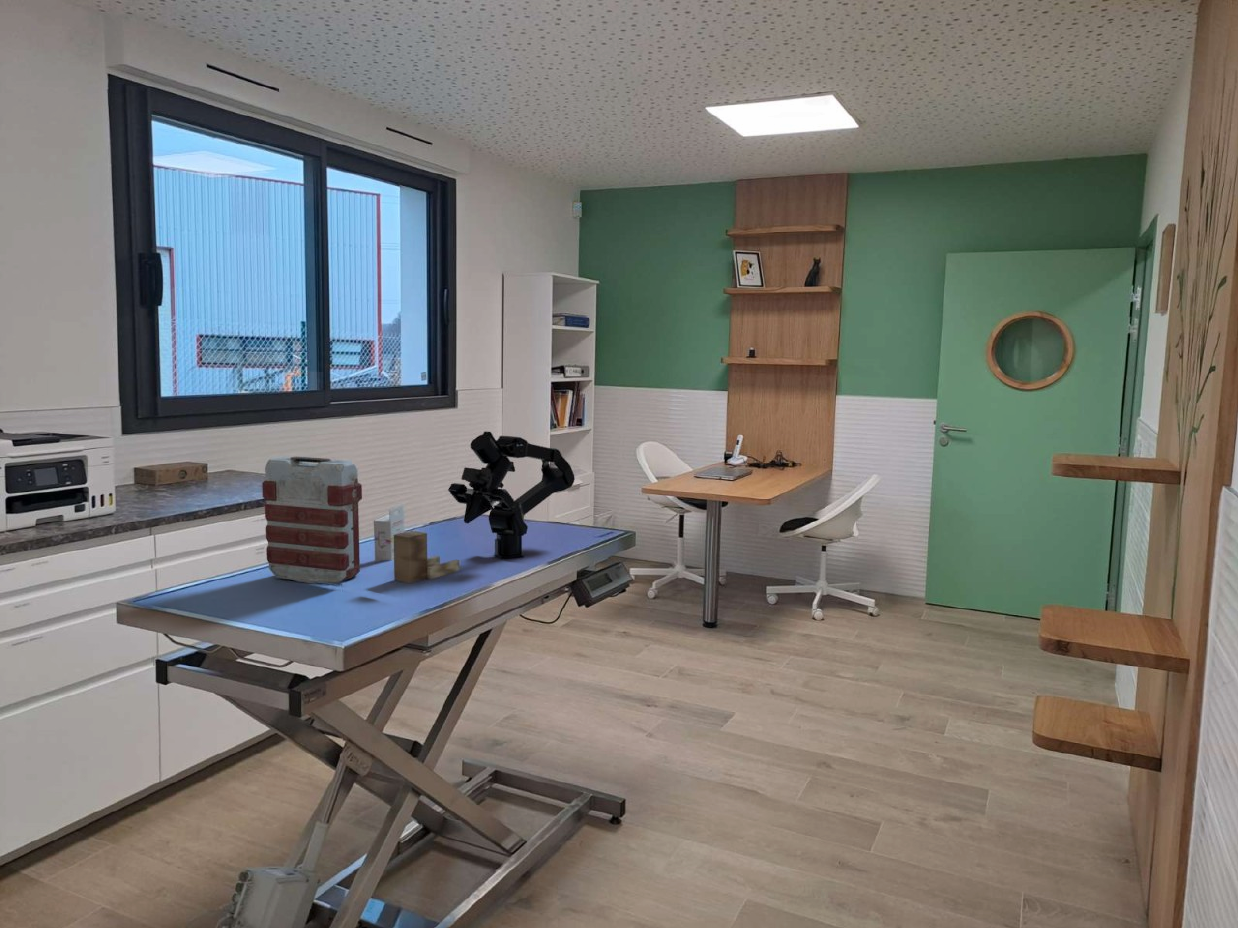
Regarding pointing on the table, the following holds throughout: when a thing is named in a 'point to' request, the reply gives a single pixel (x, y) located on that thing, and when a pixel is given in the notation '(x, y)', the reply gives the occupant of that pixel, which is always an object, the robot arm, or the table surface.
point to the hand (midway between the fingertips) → (465, 522)
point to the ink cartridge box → (387, 533)
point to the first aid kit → (312, 519)
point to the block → (410, 556)
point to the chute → (440, 567)
